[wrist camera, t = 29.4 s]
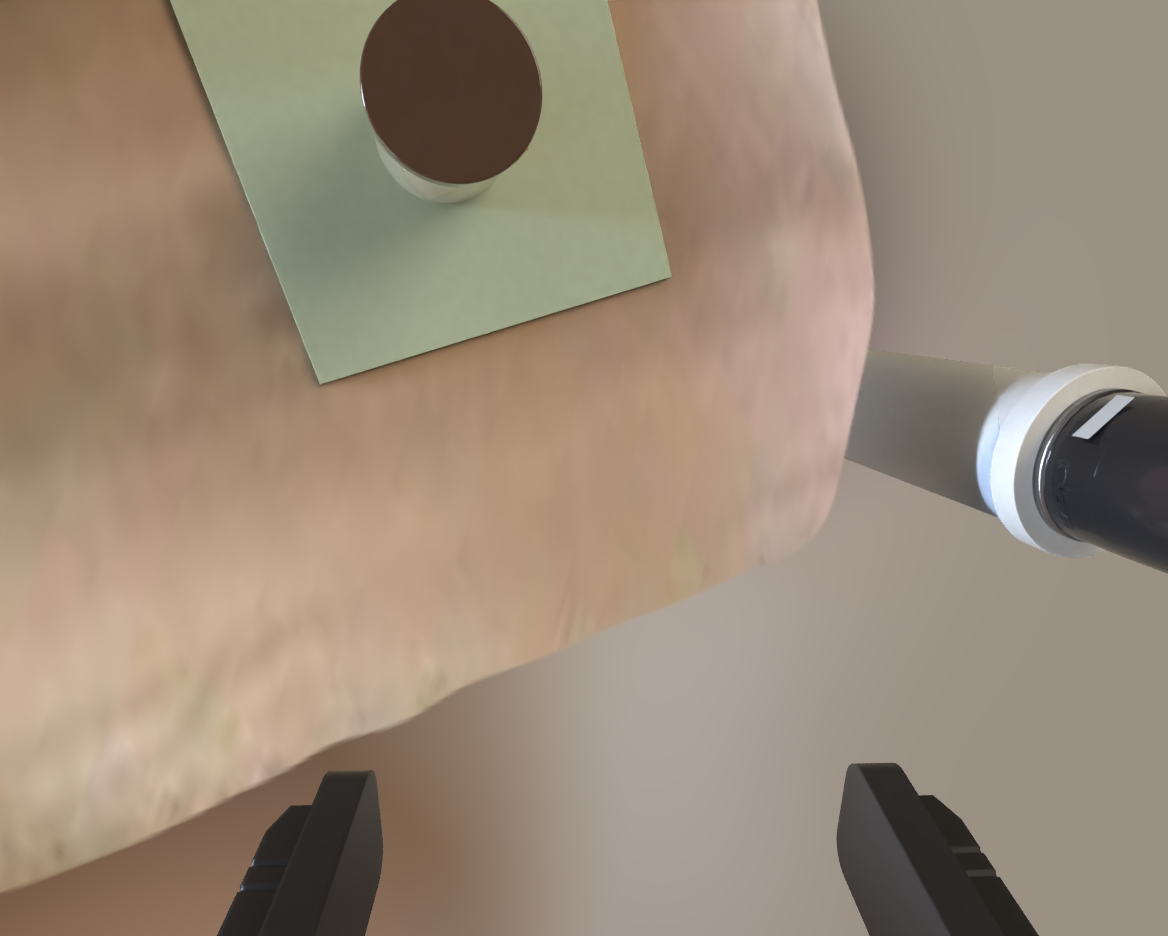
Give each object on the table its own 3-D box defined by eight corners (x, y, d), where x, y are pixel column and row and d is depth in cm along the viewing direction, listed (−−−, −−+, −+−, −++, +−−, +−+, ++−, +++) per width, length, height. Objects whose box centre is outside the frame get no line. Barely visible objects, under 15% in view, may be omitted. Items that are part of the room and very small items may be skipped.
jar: (364, 194, 33) (352, 166, 25) (375, 41, 32) (366, -37, 24) (504, 218, 34) (532, 198, 27) (520, 74, 33) (554, 10, 26)
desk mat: (574, -132, 32) (575, -136, 32) (670, 276, 37) (672, 276, 37) (153, -44, 29) (151, -47, 29) (320, 383, 35) (320, 384, 34)
